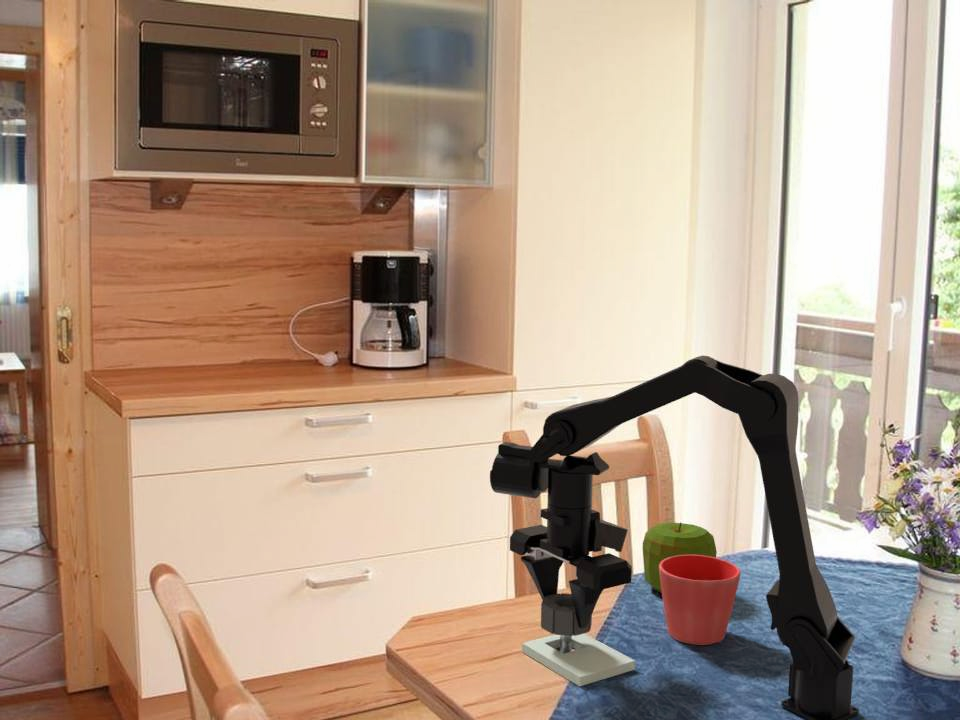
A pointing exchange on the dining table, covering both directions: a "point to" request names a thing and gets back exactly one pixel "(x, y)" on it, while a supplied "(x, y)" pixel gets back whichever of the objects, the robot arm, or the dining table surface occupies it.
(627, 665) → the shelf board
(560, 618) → the grey octagonal ring
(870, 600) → the dining table surface
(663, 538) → the apple
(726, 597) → the flower pot
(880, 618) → the dining table surface
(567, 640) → the grey metallic cylinder
